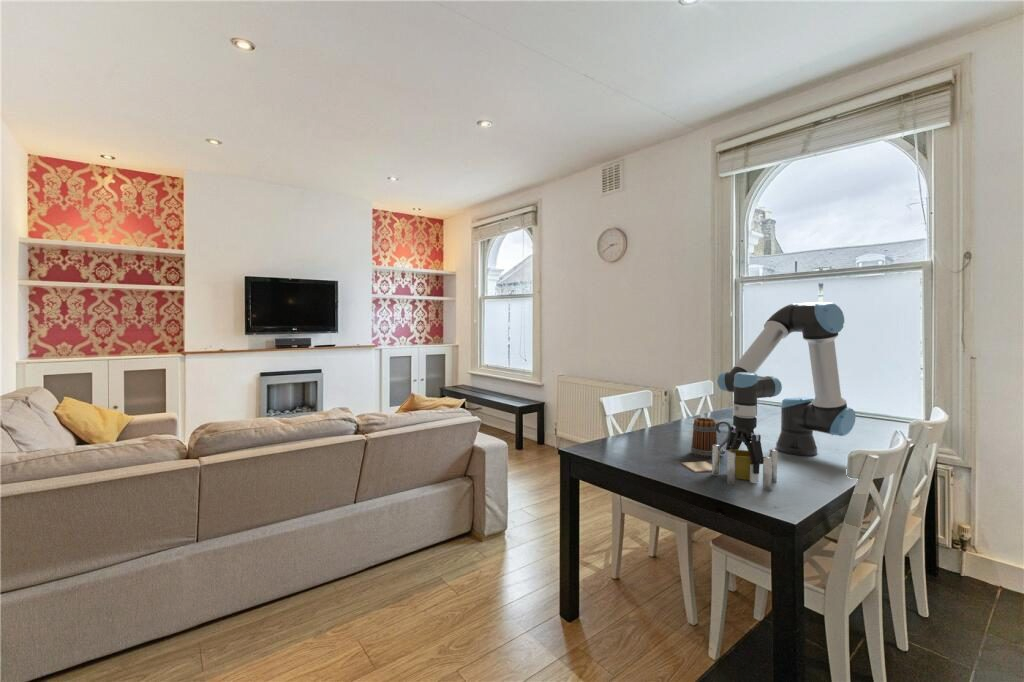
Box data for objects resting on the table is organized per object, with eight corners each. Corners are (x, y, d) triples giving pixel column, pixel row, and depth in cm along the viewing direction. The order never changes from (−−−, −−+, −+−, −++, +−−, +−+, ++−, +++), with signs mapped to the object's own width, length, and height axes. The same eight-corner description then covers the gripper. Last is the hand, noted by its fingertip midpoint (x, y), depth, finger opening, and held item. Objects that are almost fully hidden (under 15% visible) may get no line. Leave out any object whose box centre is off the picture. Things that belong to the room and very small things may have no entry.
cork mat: (705, 462, 181) (705, 461, 181) (720, 471, 171) (720, 469, 171) (681, 464, 180) (681, 462, 180) (695, 472, 170) (695, 470, 170)
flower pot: (754, 474, 167) (754, 450, 167) (760, 483, 159) (760, 457, 158) (728, 472, 169) (728, 448, 169) (732, 480, 161) (733, 455, 160)
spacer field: (756, 471, 171) (756, 442, 170) (794, 489, 152) (795, 457, 152) (710, 473, 168) (711, 444, 168) (744, 493, 149) (744, 460, 149)
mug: (692, 457, 188) (693, 421, 187) (689, 450, 198) (689, 416, 197) (733, 460, 184) (734, 423, 183) (728, 452, 194) (728, 418, 194)
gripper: (716, 409, 174) (715, 466, 175) (757, 423, 151) (755, 488, 152) (734, 409, 175) (733, 465, 176) (777, 422, 152) (775, 487, 153)
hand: (743, 476), depth 164 cm, fingers closed on flower pot, 10 cm apart
